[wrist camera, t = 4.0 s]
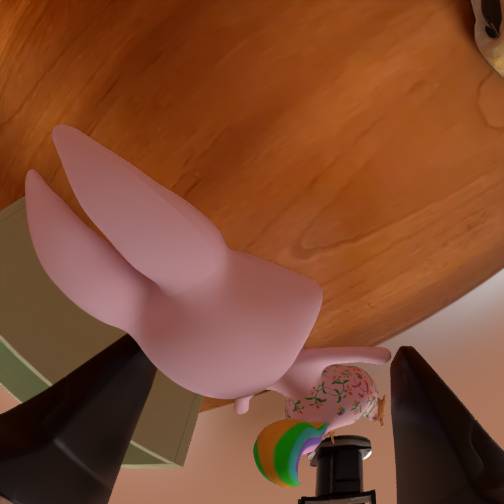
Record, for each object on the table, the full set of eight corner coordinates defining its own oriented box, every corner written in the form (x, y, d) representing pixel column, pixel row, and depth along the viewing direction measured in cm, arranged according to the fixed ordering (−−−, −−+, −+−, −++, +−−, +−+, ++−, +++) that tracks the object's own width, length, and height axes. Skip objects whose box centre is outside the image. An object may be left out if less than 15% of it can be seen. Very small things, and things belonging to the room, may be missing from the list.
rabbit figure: (407, 351, 12) (155, 38, 5) (437, 468, 8) (-97, 80, 1) (295, 397, 15) (31, 198, 8) (301, 503, 10) (-81, 342, 3)
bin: (212, 367, 24) (183, 467, 16) (143, 396, 29) (113, 467, 21) (29, 192, 18) (-62, 255, 10) (2, 267, 23) (-55, 324, 15)
